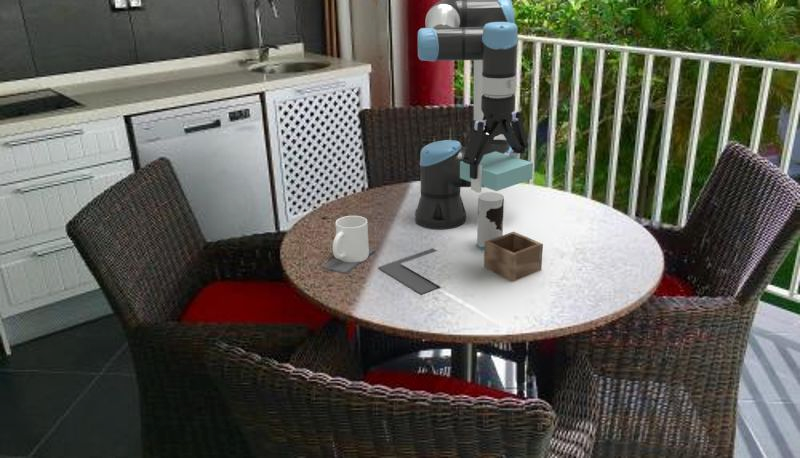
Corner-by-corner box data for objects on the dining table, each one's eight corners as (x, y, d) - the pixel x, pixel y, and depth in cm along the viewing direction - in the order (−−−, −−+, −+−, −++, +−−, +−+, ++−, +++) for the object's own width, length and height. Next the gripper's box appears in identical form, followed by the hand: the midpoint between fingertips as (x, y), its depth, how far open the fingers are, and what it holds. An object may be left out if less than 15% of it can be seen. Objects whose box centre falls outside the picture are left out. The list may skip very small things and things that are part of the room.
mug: (347, 272, 172) (344, 235, 168) (322, 264, 177) (319, 228, 173) (375, 255, 181) (373, 219, 177) (351, 248, 186) (348, 213, 182)
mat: (377, 268, 174) (377, 267, 174) (432, 249, 184) (432, 248, 183) (421, 294, 161) (421, 293, 160) (478, 273, 170) (478, 271, 170)
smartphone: (321, 266, 175) (352, 243, 187) (321, 270, 175) (352, 247, 187) (345, 272, 171) (376, 249, 183) (345, 276, 172) (376, 252, 184)
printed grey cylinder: (506, 251, 181) (508, 199, 175) (483, 256, 179) (485, 202, 173) (494, 242, 187) (496, 190, 181) (472, 246, 185) (473, 194, 179)
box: (483, 270, 171) (484, 241, 168) (512, 259, 177) (513, 231, 173) (512, 285, 164) (513, 255, 161) (541, 273, 169) (543, 244, 166)
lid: (459, 182, 163) (460, 162, 161) (495, 171, 169) (495, 151, 167) (496, 196, 154) (496, 174, 152) (531, 183, 161) (533, 162, 159)
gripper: (470, 106, 144) (469, 201, 152) (546, 88, 157) (541, 176, 166) (447, 100, 149) (446, 192, 158) (522, 83, 163) (518, 169, 171)
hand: (495, 184), depth 162 cm, fingers closed on lid, 12 cm apart
